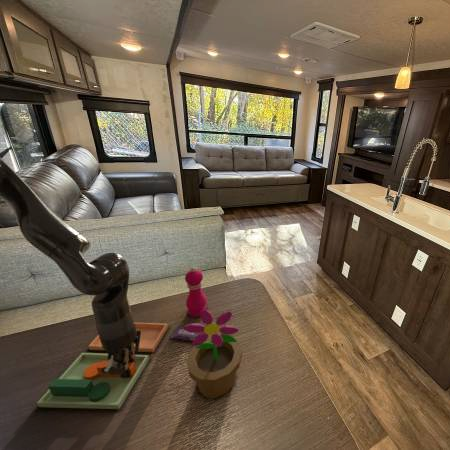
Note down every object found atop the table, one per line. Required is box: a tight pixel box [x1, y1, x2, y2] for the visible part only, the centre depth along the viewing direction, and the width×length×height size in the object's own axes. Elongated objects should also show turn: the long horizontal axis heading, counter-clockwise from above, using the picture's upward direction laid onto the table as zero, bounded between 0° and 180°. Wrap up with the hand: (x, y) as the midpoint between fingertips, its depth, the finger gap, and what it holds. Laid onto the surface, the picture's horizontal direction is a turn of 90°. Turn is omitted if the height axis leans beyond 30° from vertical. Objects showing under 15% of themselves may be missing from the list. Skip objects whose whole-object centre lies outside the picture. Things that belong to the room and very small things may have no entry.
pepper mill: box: [184, 266, 207, 318], centre depth 92 cm, size 7×7×20 cm
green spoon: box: [48, 378, 110, 402], centre depth 64 cm, size 13×4×4 cm, turn 92°
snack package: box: [170, 326, 205, 342], centre depth 84 cm, size 12×2×5 cm
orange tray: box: [87, 321, 169, 353], centre depth 81 cm, size 19×10×2 cm, turn 92°
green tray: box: [36, 352, 150, 410], centre depth 68 cm, size 19×14×2 cm
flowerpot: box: [183, 308, 243, 399], centre depth 66 cm, size 14×14×30 cm
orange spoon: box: [83, 361, 137, 380], centre depth 69 cm, size 13×4×4 cm, turn 92°
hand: (129, 372), depth 70 cm, fingers closed on orange spoon, 2 cm apart
